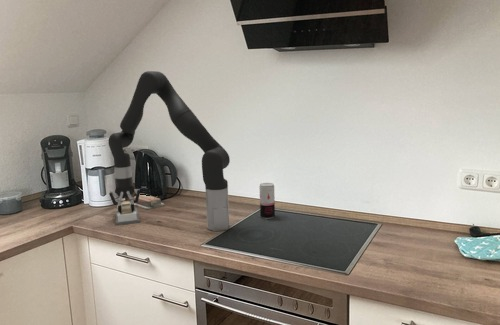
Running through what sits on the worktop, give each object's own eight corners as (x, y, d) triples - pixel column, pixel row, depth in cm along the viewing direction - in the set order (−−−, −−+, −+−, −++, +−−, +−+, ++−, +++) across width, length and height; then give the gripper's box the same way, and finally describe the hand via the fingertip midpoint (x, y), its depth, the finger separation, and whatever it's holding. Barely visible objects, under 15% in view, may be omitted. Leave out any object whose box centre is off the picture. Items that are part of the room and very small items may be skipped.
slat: (131, 219, 178) (130, 208, 178) (123, 220, 177) (122, 209, 176) (130, 210, 191) (129, 200, 191) (122, 211, 190) (121, 201, 189)
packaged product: (164, 197, 202) (147, 201, 195) (165, 206, 203) (147, 211, 196) (145, 191, 214) (128, 195, 207) (145, 200, 215) (129, 204, 208)
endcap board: (139, 222, 177) (138, 213, 177) (115, 225, 174) (115, 216, 174) (137, 210, 195) (136, 202, 194) (115, 212, 192) (115, 204, 191)
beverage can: (275, 214, 183) (274, 182, 180) (274, 219, 176) (273, 186, 173) (261, 214, 183) (260, 182, 181) (259, 219, 177) (258, 186, 174)
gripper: (106, 179, 176) (110, 216, 179) (140, 176, 180) (143, 212, 183) (107, 176, 183) (110, 211, 186) (139, 173, 187) (142, 208, 190)
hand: (126, 212), depth 184 cm, fingers open, 4 cm apart
